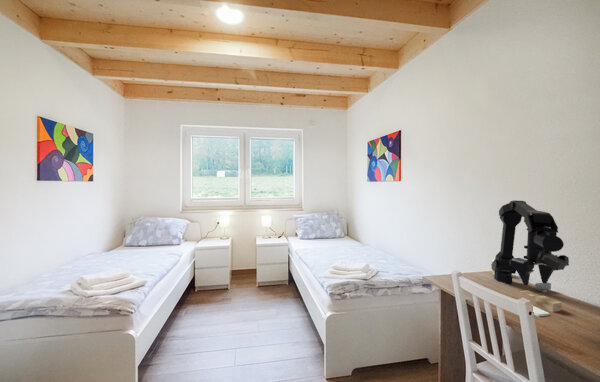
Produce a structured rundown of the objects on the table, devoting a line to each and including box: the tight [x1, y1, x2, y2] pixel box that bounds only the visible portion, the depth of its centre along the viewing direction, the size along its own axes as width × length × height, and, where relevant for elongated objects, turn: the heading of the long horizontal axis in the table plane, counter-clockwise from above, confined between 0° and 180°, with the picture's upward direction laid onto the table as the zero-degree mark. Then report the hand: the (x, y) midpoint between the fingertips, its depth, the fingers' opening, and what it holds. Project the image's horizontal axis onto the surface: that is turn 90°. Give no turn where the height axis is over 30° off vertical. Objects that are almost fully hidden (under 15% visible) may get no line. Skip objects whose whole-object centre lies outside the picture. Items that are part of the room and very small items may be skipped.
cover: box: [532, 305, 550, 321], centre depth 98 cm, size 7×5×2 cm
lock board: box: [519, 289, 562, 313], centre depth 107 cm, size 17×13×4 cm
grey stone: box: [534, 281, 552, 293], centre depth 116 cm, size 7×3×5 cm, turn 102°
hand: (535, 284), depth 98 cm, fingers open, 9 cm apart
